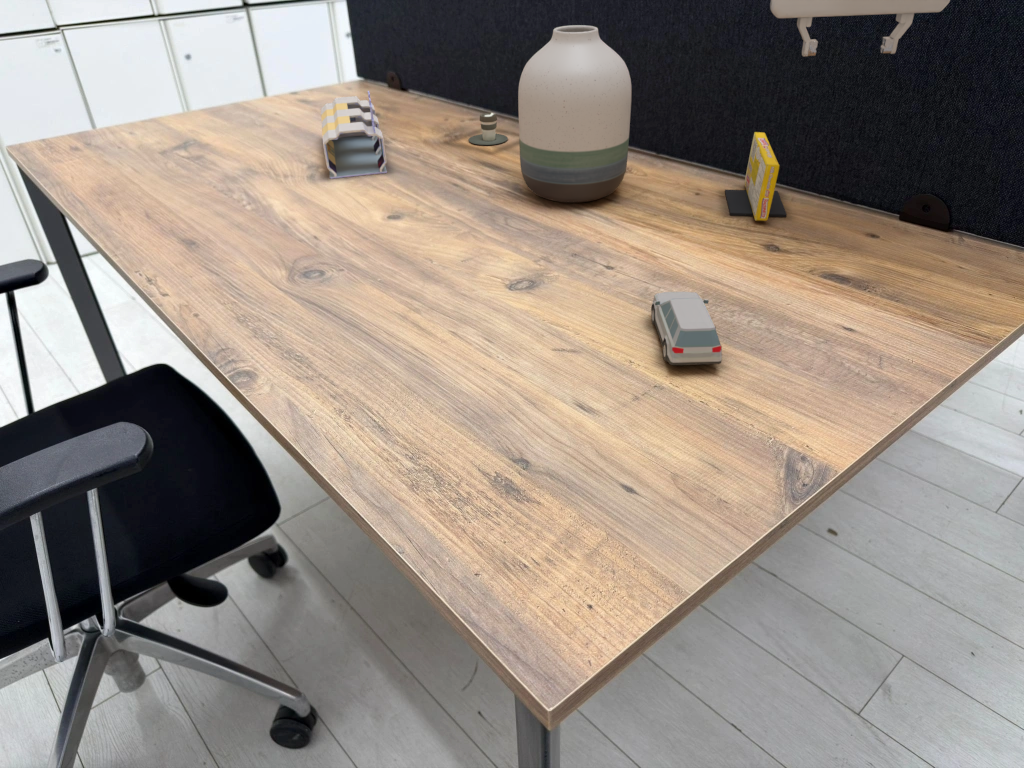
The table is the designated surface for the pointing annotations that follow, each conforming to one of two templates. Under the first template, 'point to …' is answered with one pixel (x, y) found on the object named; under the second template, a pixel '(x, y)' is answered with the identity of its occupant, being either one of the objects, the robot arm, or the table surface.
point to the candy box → (761, 176)
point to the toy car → (685, 329)
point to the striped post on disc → (488, 131)
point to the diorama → (352, 138)
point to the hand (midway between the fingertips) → (847, 54)
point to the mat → (742, 206)
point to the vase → (574, 117)
